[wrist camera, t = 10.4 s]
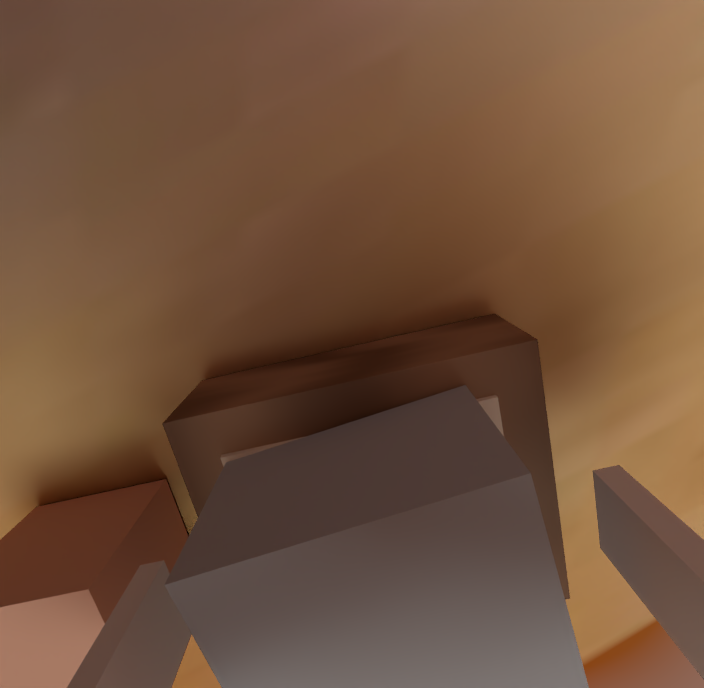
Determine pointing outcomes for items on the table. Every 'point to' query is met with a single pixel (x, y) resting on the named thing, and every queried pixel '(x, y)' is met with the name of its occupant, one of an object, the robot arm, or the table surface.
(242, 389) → the plinth
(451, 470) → the slate block
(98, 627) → the terracotta cube
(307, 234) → the table surface
